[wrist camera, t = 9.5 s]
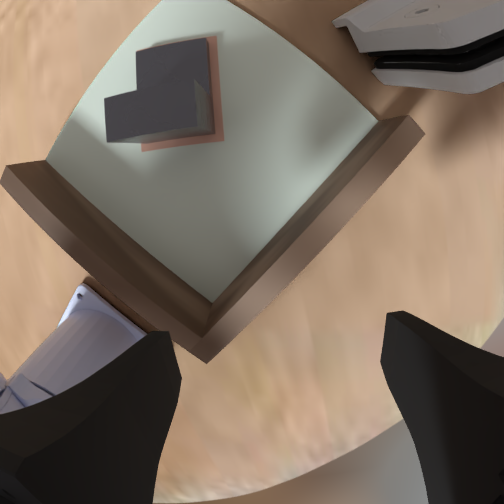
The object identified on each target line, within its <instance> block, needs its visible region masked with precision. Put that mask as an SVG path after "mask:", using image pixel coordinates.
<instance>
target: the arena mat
mask: <svg viewBox="0 0 504 504" xmlns="http://www.w3.org/2000/svg"><path fill="white" fill-rule="evenodd" d="M200 38H206V39H207V41H208V43H209V54H210V68H211V82H212V95H213V108H214V120H215V132H216V134H210V135H202V136H194V137H187V138H179V139H173V140H166V141H160V142H154V143H148V144H141V143H107V139H106V126H105V110H104V98H107V97H111V96H114V95H118V94H122V93H126V92H130V91H134V90H137V85H136V51H140V50H144V49H148V48H153V47H157V46H162V45H166V44H171V43H176V42H182V41H187V40H193V39H200ZM377 122H378V120H377V119H376V118H375V117H374V116H373V115H372V114H371V113H370V112H369V111H368V110H367V109H366V108H365V107H364V106H363V105H362V104H361V103H360V102H359V101H358V100H357V99H356V98H355V97H353V96H352V95H351V94H350V93H349V92H348V91H347V90H346V89H345V88H344V87H343V86H342V85H340V84H339V83H338V82H337V81H336V80H335V79H334V78H333V77H331V76H330V75H329V74H328V73H327V72H326V71H325V70H323V69H322V68H321V67H320V66H319V65H317V64H316V63H315V62H314V61H313V60H311V59H310V58H309V57H308V56H306V55H305V54H304V53H303V52H301V51H300V50H299V49H297V48H296V47H295V46H293V45H292V44H291V43H290V42H288V41H287V40H286V39H284V38H283V37H281V36H280V35H279V34H277V33H276V32H274V31H273V30H272V29H270V28H269V27H267V26H266V25H264V24H263V23H262V22H260V21H259V20H257V19H256V18H254V17H253V16H251V15H249V14H248V13H246V12H245V11H243V10H242V9H240V8H238V7H237V6H235V5H234V4H232V3H230V2H229V1H227V0H162V1H161V2H160V3H159V4H158V5H157V6H156V7H155V8H154V9H153V10H152V11H151V12H150V13H149V14H148V15H147V16H146V17H145V18H144V19H143V20H142V21H141V22H140V24H139V25H138V26H137V27H136V28H135V29H134V30H133V31H132V33H131V34H130V35H129V36H128V37H127V38H126V40H125V41H124V42H123V43H122V44H121V45H120V47H119V48H118V49H117V50H116V52H115V53H114V54H113V55H112V57H111V58H110V59H109V60H108V62H107V63H106V64H105V66H104V67H103V68H102V70H101V71H100V72H99V74H98V75H97V77H96V78H95V79H94V81H93V82H92V84H91V85H90V86H89V88H88V89H87V91H86V92H85V94H84V95H83V97H82V98H81V100H80V101H79V103H78V104H77V106H76V107H75V109H74V111H73V112H72V114H71V115H70V117H69V119H68V120H67V122H66V124H65V125H64V127H63V129H62V130H61V132H60V134H59V136H58V137H57V139H56V141H55V143H54V145H53V146H52V148H51V150H50V152H49V154H48V156H47V158H46V161H47V162H48V163H49V164H50V165H51V166H52V167H53V168H54V169H55V170H56V171H57V172H58V173H59V174H60V175H61V176H63V177H64V178H65V179H66V180H67V181H68V182H69V183H70V184H71V185H72V186H73V187H74V188H75V189H76V190H78V191H79V192H80V193H81V194H82V195H83V196H84V197H85V198H86V199H87V200H89V201H90V202H91V203H92V204H93V205H94V206H95V207H96V208H97V209H99V210H100V211H101V212H102V213H103V214H104V215H105V216H107V217H108V218H109V219H110V220H111V221H112V222H113V223H115V224H116V225H117V226H118V227H119V228H120V229H122V230H123V231H124V232H125V233H126V234H127V235H129V236H130V237H131V238H132V239H133V240H134V241H136V242H137V243H138V244H139V245H140V246H142V247H143V248H144V249H145V250H146V251H148V252H149V253H150V254H151V255H152V256H154V257H155V258H156V259H157V260H158V261H160V262H161V263H162V264H163V265H165V266H166V267H167V268H168V269H170V270H171V271H172V272H173V273H175V274H176V275H177V276H178V277H180V278H181V279H182V280H183V281H185V282H186V283H187V284H188V285H190V286H191V287H192V288H194V289H195V290H196V291H197V292H199V293H200V294H201V295H203V296H204V297H205V298H206V299H208V300H209V301H210V302H212V303H213V302H214V301H215V300H216V299H217V298H218V297H219V296H220V294H221V293H222V292H223V291H224V290H225V289H226V288H227V287H228V286H229V285H230V284H231V283H232V281H233V280H234V279H235V278H236V277H237V276H238V275H239V274H240V273H241V272H242V271H243V269H244V268H245V267H246V266H247V265H248V264H249V263H250V262H251V261H252V260H253V259H254V257H255V256H256V255H257V254H258V253H259V252H260V251H261V250H262V249H263V248H264V247H265V245H266V244H267V243H268V242H269V241H270V240H271V239H272V238H273V237H274V236H275V235H276V233H277V232H278V231H279V230H280V229H281V228H282V227H283V226H284V225H285V224H286V223H287V221H288V220H289V219H290V218H291V217H292V216H293V215H294V214H295V213H296V212H297V210H298V209H299V208H300V207H301V206H302V205H303V204H304V203H305V202H306V201H307V200H308V198H309V197H310V196H311V195H312V194H313V193H314V192H315V191H316V190H317V189H318V187H319V186H320V185H321V184H322V183H323V182H324V181H325V180H326V179H327V178H328V176H329V175H330V174H331V173H332V172H333V171H334V170H335V169H336V168H337V167H338V165H339V164H340V163H341V162H342V161H343V160H344V159H345V158H346V157H347V156H348V154H349V153H350V152H351V151H352V150H353V149H354V148H355V147H356V146H357V144H358V143H359V142H360V141H361V140H362V139H363V138H364V137H365V136H366V135H367V133H368V132H369V131H370V130H371V129H372V128H373V127H374V126H375V125H376V123H377Z"/></svg>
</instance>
